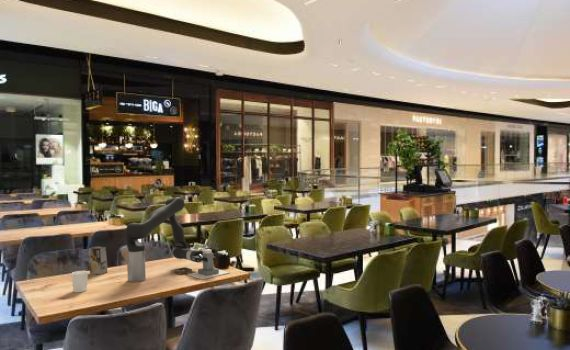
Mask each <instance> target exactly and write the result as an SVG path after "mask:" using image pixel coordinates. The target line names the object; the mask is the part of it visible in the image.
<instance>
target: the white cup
mask: <svg viewBox="0 0 570 350" xmlns="http://www.w3.org/2000/svg"><path fill="white" fill-rule="evenodd" d="M71 283H72V292H73V293H81V292H82V293H83V292H86V291H87V290H88V270H76V271H72V272H71Z"/></svg>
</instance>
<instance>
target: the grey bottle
mask: <svg viewBox="0 0 570 350" xmlns="http://www.w3.org/2000/svg"><path fill="white" fill-rule="evenodd" d="M212 250H213V249H210V248H208V249H204V250H203V257H205V258H208V262H205V261H203V262H202V268H203V270H205V271H209V270H214V268H215V267H214V261H213V257H214V253H213V252H212Z"/></svg>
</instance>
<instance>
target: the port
mask: <svg viewBox="0 0 570 350" xmlns="http://www.w3.org/2000/svg"><path fill="white" fill-rule="evenodd" d="M230 273H231V272H230V271H226V270H222V269H220V268H216V267H214V270H209V271H205V270H203V267H201V268H197V271H196V272H191V273H186V276H189V277H193V278H197V279H199V280H205V279H210V278H214V277H218V276H224V275H228V274H230Z"/></svg>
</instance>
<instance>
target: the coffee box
mask: <svg viewBox="0 0 570 350" xmlns="http://www.w3.org/2000/svg"><path fill="white" fill-rule="evenodd" d="M107 249H108V248H107V246H92V247H88V263H89V274H90V273H91V275H92V274H93V275H103V273H104V274H106V273H108V272H107V271H108V254H107V253H108V252H107ZM105 272H106V273H105Z"/></svg>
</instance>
